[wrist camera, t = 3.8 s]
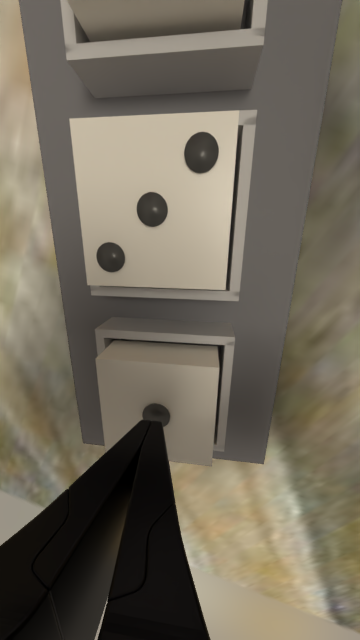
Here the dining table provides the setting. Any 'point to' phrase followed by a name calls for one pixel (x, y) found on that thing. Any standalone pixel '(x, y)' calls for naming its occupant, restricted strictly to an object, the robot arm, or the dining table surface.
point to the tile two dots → (155, 17)
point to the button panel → (248, 191)
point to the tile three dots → (156, 198)
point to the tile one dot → (161, 394)
